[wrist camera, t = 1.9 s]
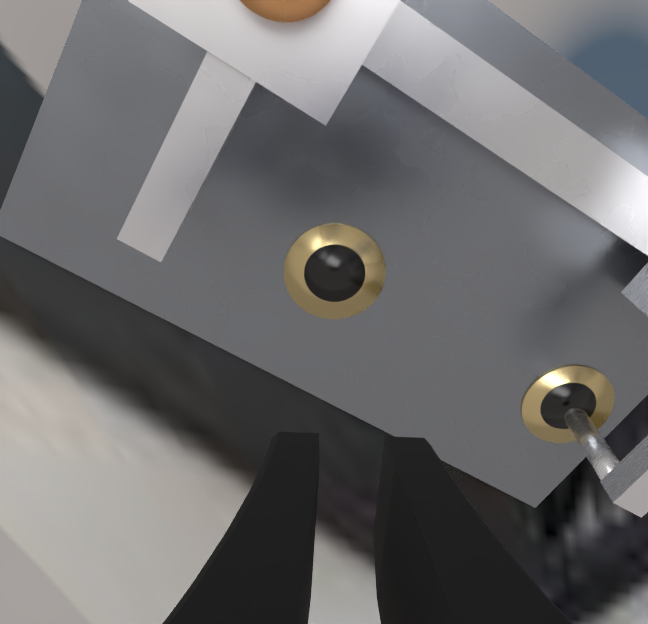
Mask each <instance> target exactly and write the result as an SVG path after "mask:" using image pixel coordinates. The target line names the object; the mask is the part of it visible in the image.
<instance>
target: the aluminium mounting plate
mask: <svg viewBox="0 0 648 624" xmlns="http://www.w3.org/2000/svg"><path fill="white" fill-rule="evenodd" d="M206 53H207V51H206V50H205V49H203V48H202V47H200V46H199V45H197V44H195V43H194V42H192V41H191V40H189V39H187V38H186V37H184V36H183V35H181V34H180V33H178V32H176V31H175V30H173V29H172V28H170V27H168V26H167V25H165V24H164V23H162V22H161V21H159V20H157V19H156V18H154V17H153V16H151V15H149V14H148V13H146V12H145V11H143V10H142V9H140V8H138V7H137V6H135V5H134V4H132V3H130V2H129V1H128V0H82V2H81V5H80V8H79V10H78V13H77V15H76V18H75V20H74V23H73V26H72V29H71V31H70V33H69V36H68V38H67V41H66V43H65V46H64V49H63V51H62V54H61V57H60V59H59V61H58V64H57V67H56V69H55V72H54V74H53V77H52V80H51V82H50V85H49V87H48V90H47V92H46V95H45V97H44V100H43V103H42V105H41V108H40V110H39V113H38V115H37V118H36V121H35V123H34V126H33V128H32V131H31V133H30V136H29V139H28V141H27V144H26V146H25V149H24V151H23V154H22V157H21V159H20V162H19V164H18V167H17V169H16V172H15V174H14V177H13V180H12V182H11V185H10V187H9V190H8V192H7V195H6V198H5V200H4V203H3V205H2V208H1V210H0V236H2V237H3V238H5V239H7V240H9V241H11V242H13V243H15V244H17V245H19V246H21V247H23V248H25V249H27V250H29V251H31V252H33V253H35V254H37V255H39V256H41V257H43V258H45V259H47V260H49V261H51V262H53V263H55V264H57V265H59V266H61V267H62V268H64V269H66V270H68V271H70V272H72V273H74V274H76V275H78V276H80V277H82V278H84V279H86V280H88V281H90V282H92V283H94V284H96V285H98V286H100V287H102V288H104V289H106V290H108V291H110V292H112V293H114V294H116V295H118V296H120V297H121V298H123V299H125V300H127V301H129V302H131V303H133V304H135V305H137V306H139V307H141V308H143V309H145V310H147V311H149V312H151V313H153V314H155V315H157V316H159V317H161V318H163V319H165V320H167V321H169V322H171V323H173V324H175V325H177V326H179V327H180V328H182V329H184V330H186V331H188V332H190V333H192V334H194V335H196V336H198V337H200V338H202V339H204V340H206V341H208V342H210V343H212V344H214V345H216V346H218V347H220V348H222V349H224V350H226V351H228V352H230V353H232V354H234V355H236V356H238V357H239V358H241V359H243V360H245V361H247V362H249V363H251V364H253V365H255V366H257V367H259V368H261V369H263V370H265V371H267V372H269V373H271V374H273V375H275V376H277V377H279V378H281V379H283V380H285V381H287V382H289V383H291V384H293V385H295V386H297V387H298V388H300V389H302V390H304V391H306V392H308V393H310V394H312V395H314V396H316V397H318V398H320V399H322V400H324V401H326V402H328V403H330V404H332V405H334V406H336V407H338V408H340V409H342V410H344V411H346V412H348V413H350V414H352V415H354V416H356V417H357V418H359V419H361V420H363V421H365V422H367V423H369V424H371V425H373V426H375V427H377V428H379V429H381V430H383V431H385V432H387V433H389V434H391V435H393V436H395V437H416V438H425V439H426V440H427V441H428V442H429V444H430V445H431V446H432V448H433V449H434V451H435V452H436V454H437V455H438V457H439V458H440V460H442V461H444V462H446V463H448V464H450V465H452V466H454V467H456V468H458V469H460V470H462V471H464V472H466V473H468V474H470V475H472V476H474V477H476V478H477V479H479V480H481V481H483V482H485V483H487V484H489V485H491V486H493V487H495V488H497V489H499V490H501V491H503V492H505V493H507V494H509V495H511V496H513V497H515V498H517V499H519V500H521V501H523V502H525V503H527V504H529V505H531V506H533V507H535V508H536V507H537V506H538V505H539V504H540V503H541V502H542V501H543V500H544V499H545V498H546V497H547V496H548V495H549V494H550V493H551V492H552V491H553V490H554V489H555V488H556V486H557V485H558V484H559V483H560V482H561V481H562V480H563V479H564V478H565V477H566V476H567V475H568V474H569V473H570V472H571V471H572V470H573V469H574V468H575V467H576V466H577V465H578V464H579V463H580V462H581V461H582V460H583V459H584V458H585V457H587V458H588V460H589V462H590V463H591V465H592V466H593V468H594V470H595V471H596V473H597V475H598V476H599V478H600V479H601V481H600V482H601V484H602V485H603V487H604V489H605V490H606V492H607V494H608V495H609V497H610V499H611V500H612V502H613V503H615V504H617V505H618V506H620V507H622V508H624V509H626V510H628V511H630V512H632V513H633V514H635V515H637V516H639V517H641V518H642V517H643V516H644V515H645V514H646V513H647V512H648V435H647V436H646V437H645V438H644V439H643V440H642V441H641V442H640V443H639V444H638V445H637V446H636V447H635V448H634V449H633V450H632V451H631V452H630V453H629V454H628V455H627V456H626V457H625V458H624V459H623V460H622V461H621V462H620V461H619V460H618V458H617V457H616V456H615V454H614V453H613V451H612V450H611V448H610V447H609V445H608V444H607V442H606V441H605V440H604V438H605V437H606V436H607V435H608V434H609V433H610V432H611V431H612V430H613V429H614V428H615V427H616V426H617V425H618V424H619V423H620V422H621V421H622V420H623V419H624V418H625V417H626V416H627V415H628V414H629V413H630V412H631V411H632V410H633V409H634V408H635V407H636V406H637V405H638V404H639V403H640V402H641V401H642V400H643V399H644V398H645V397H646V396H647V395H648V119H647V118H646V117H644V116H643V115H642V114H640V113H639V112H637V111H636V110H635V109H633V108H632V107H631V106H629V105H628V104H627V103H625V102H624V101H623V100H621V99H620V98H618V97H617V96H616V95H614V94H613V93H612V92H610V91H609V90H608V89H606V88H605V87H604V86H602V85H601V84H600V83H598V82H597V81H596V80H594V79H593V78H591V77H590V76H589V75H587V74H586V73H585V72H583V71H582V70H581V69H579V68H578V67H577V66H575V65H574V64H572V63H571V62H570V61H569V60H567V59H566V58H565V57H563V56H562V55H560V54H559V53H558V52H556V51H555V50H554V49H552V48H551V47H550V46H548V45H547V44H546V43H544V42H543V41H541V40H540V39H539V38H537V37H536V36H535V35H533V34H532V33H531V32H529V31H528V30H526V29H525V28H524V27H523V26H521V25H520V24H519V23H517V22H516V21H514V20H513V19H512V18H510V17H509V16H508V15H506V14H505V13H504V12H502V11H501V10H500V9H498V8H497V7H495V6H494V5H493V4H492V3H490V2H489V1H488V0H400V1H399V2H398V4H397V6H396V8H395V9H394V11H393V13H392V14H391V16H390V18H389V19H388V21H387V23H386V24H385V26H384V28H383V30H382V31H381V33H380V35H379V36H378V38H377V40H376V41H375V43H374V45H373V47H372V48H371V50H370V52H369V53H368V55H367V57H366V58H365V60H364V62H363V64H362V65H361V67H360V69H359V70H358V72H357V74H356V75H355V77H354V79H353V80H352V82H351V84H350V86H349V87H348V89H347V91H346V92H345V94H344V96H343V97H342V99H341V101H340V103H339V104H338V106H337V108H336V109H335V111H334V113H333V114H332V116H331V118H330V119H329V121H328V123H327V125H326V126H325V125H324V124H322V123H321V122H319V121H317V120H316V119H314V118H313V117H311V116H309V115H308V114H306V113H305V112H303V111H302V110H300V109H298V108H297V107H295V106H294V105H292V104H290V103H289V102H287V101H286V100H284V99H283V98H281V97H279V96H278V95H276V94H275V93H273V92H271V91H270V90H268V89H267V88H265V87H264V86H262V85H260V84H259V83H257V85H256V87H255V89H254V90H253V92H252V94H251V96H250V98H249V100H248V102H247V104H246V106H245V108H244V109H243V111H242V113H241V115H240V117H239V119H238V121H237V123H236V125H235V126H234V128H233V130H232V132H231V134H230V136H229V138H228V140H227V142H226V144H225V145H224V147H223V149H222V151H221V153H220V155H219V157H218V159H217V161H216V163H215V164H214V166H213V168H212V170H211V172H210V174H209V176H208V178H207V180H206V182H205V183H204V185H203V187H202V189H201V191H200V193H199V195H198V197H197V199H196V200H195V202H194V204H193V206H192V208H191V210H190V212H189V214H188V216H187V218H186V219H185V221H184V223H183V225H182V227H181V229H180V231H179V233H178V235H177V237H176V238H175V240H174V242H173V244H172V246H171V248H170V250H169V251H168V253H167V254H166V256H165V257H164V259H163V260H162V262H159V261H157V260H155V259H154V258H152V257H150V256H148V255H146V254H144V253H142V252H140V251H138V250H137V249H135V248H133V247H131V246H129V245H127V244H125V243H123V242H122V241H120V240H118V239H117V237H118V235H119V233H120V231H121V229H122V227H123V225H124V223H125V221H126V219H127V217H128V215H129V213H130V210H131V208H132V206H133V204H134V202H135V200H136V198H137V196H138V194H139V192H140V190H141V188H142V186H143V184H144V182H145V179H146V177H147V175H148V173H149V171H150V169H151V167H152V165H153V163H154V161H155V159H156V157H157V155H158V153H159V151H160V148H161V146H162V144H163V142H164V140H165V138H166V136H167V134H168V132H169V130H170V128H171V126H172V124H173V122H174V119H175V117H176V115H177V113H178V111H179V109H180V107H181V105H182V103H183V101H184V99H185V97H186V95H187V93H188V91H189V88H190V86H191V84H192V82H193V80H194V78H195V76H196V74H197V72H198V70H199V68H200V66H201V64H202V62H203V60H204V57H205V55H206Z"/></svg>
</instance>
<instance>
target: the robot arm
mask: <svg viewBox="0 0 648 624" xmlns="http://www.w3.org/2000/svg"><path fill="white" fill-rule="evenodd" d="M318 478H319V433H294V432H279V433H277V434H276V435H275V436H273V437H272V439H271V443H270V446H269V449H268V452H267V455H266V457H265V460H264V462H263V464H262V467H261V469H260V471H259V473H258V475H257V477H256V479H255V481H254V483H253V485H252V487H251V489H250V491H249V493H248V495H247V497H246V498H245V500H244V502H243V504H242V505H241V507H240V509H239V511H238V513H237V514H236V516H235V518H234V520H233V521H232V523H231V525H230V527H229V528H228V530H227V532H226V533H225V535H224V536H223V538H222V540H221V541H220V543H219V544H218V546H217V547H216V549H215V550H214V552H213V553H212V555H211V556H210V558H209V559H208V561H207V562H206V564H205V565H204V567H203V568H202V570H201V571H200V573H199V574H198V576H197V578H196V579H195V580H194V582H193V583H192V585H191V586H190V588H189V589H188V590H187V592H186V593H185V594H184V596H183V597H182V599H181V600H180V601H179V603H178V604H177V605H176V607H175V608H174V609H173V611H172V612H171V613H170V615H169V616H168V617H167V619H166V620H165V621H164V623H163V624H308V617H309V608H310V599H311V586H312V571H313V555H314V540H315V524H316V509H317V493H318ZM373 536H374V555H375V573H376V589H377V601H378V607H379V613H380V620H381V624H572V623H571V622H570V621H569V620H568V619H567V618H566V617H565V615H564V614H563V613H562V612H561V611H560V610H559V609H558V608H557V607H556V606H555V605H554V603H553V602H552V601H551V600H550V599H549V598H548V597H547V596H546V595H545V593H544V592H543V591H542V590H541V589H540V588H539V586H538V585H537V584H536V583H535V582H534V581H533V580H532V578H531V577H530V576H529V575H528V574H527V573H526V572H525V570H524V569H523V568H522V567H521V566H520V564H519V563H518V562H517V561H516V560H515V558H514V557H513V556H512V555H511V554H510V552H509V551H508V550H507V549H506V547H505V546H504V545H503V544H502V542H501V541H500V540H499V539H498V537H497V536H496V535H495V533H494V532H493V531H492V530H491V528H490V527H489V526H488V525H487V523H486V522H485V521H484V519H483V518H482V517H481V516H480V514H479V513H478V512H477V510H476V509H475V508H474V506H473V505H472V504H471V502H470V501H469V500H468V498H467V497H466V495H465V494H464V493H463V491H462V490H461V488H460V487H459V486H458V484H457V483H456V481H455V480H454V479H453V477H452V476H451V474H450V473H449V471H448V470H447V468H446V467H445V466H444V464H443V463H442V461H441V460H440V458H439V457H438V455H437V454H436V452H435V451H434V449H433V448H432V446H431V445H430V444H429V442H428V441H427V440H426V439H425V438H416V437H392V436H385V443H384V451H383V460H382V468H381V476H380V484H379V493H378V501H377V509H376V517H375V526H374V534H373Z"/></svg>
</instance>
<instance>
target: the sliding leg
mask: <svg viewBox="0 0 648 624" xmlns="http://www.w3.org/2000/svg"><path fill="white" fill-rule="evenodd" d="M128 1H129V2H130V3H132V4H134V5H135V6H137V7H138V8H140V9H142V10H143V11H145V12H146V13H148V14H149V15H151V16H153V17H154V18H156V19H157V20H159V21H161V22H162V23H164V24H165V25H167V26H168V27H170V28H172V29H173V30H175V31H176V32H178V33H180V34H181V35H183V36H184V37H186V38H187V39H189V40H191V41H192V42H194V43H195V44H197V45H199V46H200V47H202V48H203V49H205V50H206V51H207V53H206V55H205V57H204V60H203V62H202V64H201V66H200V68H199V70H198V72H197V74H196V76H195V78H194V80H193V82H192V84H191V86H190V88H189V91H188V93H187V95H186V97H185V99H184V101H183V103H182V105H181V107H180V109H179V111H178V113H177V115H176V117H175V119H174V122H173V124H172V126H171V128H170V130H169V132H168V134H167V136H166V138H165V140H164V142H163V144H162V146H161V148H160V151H159V153H158V155H157V157H156V159H155V161H154V163H153V165H152V167H151V169H150V171H149V173H148V175H147V177H146V179H145V182H144V184H143V186H142V188H141V190H140V192H139V194H138V196H137V198H136V200H135V202H134V204H133V206H132V208H131V210H130V213H129V215H128V217H127V219H126V221H125V223H124V225H123V227H122V229H121V231H120V233H119V235H118V237H117V239H118V240H120V241H122V242H123V243H125V244H127V245H129V246H131V247H133V248H135V249H137V250H138V251H140V252H142V253H144V254H146V255H148V256H150V257H152V258H154V259H155V260H157V261H159V262H162V260H163V259H164V257H165V256H166V254H167V253H168V251H169V250H170V248H171V246H172V244H173V242H174V240H175V238H176V237H177V235H178V233H179V231H180V229H181V227H182V225H183V223H184V221H185V219H186V218H187V216H188V214H189V212H190V210H191V208H192V206H193V204H194V202H195V200H196V199H197V197H198V195H199V193H200V191H201V189H202V187H203V185H204V183H205V182H206V180H207V178H208V176H209V174H210V172H211V170H212V168H213V166H214V164H215V163H216V161H217V159H218V157H219V155H220V153H221V151H222V149H223V147H224V145H225V144H226V142H227V140H228V138H229V136H230V134H231V132H232V130H233V128H234V126H235V125H236V123H237V121H238V119H239V117H240V115H241V113H242V111H243V109H244V108H245V106H246V104H247V102H248V100H249V98H250V96H251V94H252V92H253V90H254V89H255V87H256V85H257V83H259V84H260V85H262V86H264V87H265V88H267V89H268V90H270V91H271V92H273V93H275V94H276V95H278V96H279V97H281V98H283V99H284V100H286V101H287V102H289V103H290V104H292V105H294V106H295V107H297V108H298V109H300V110H302V111H303V112H305V113H306V114H308V115H309V116H311V117H313V118H314V119H316V120H317V121H319V122H321V123H322V124H324V125H325V126H326V125H327V123H328V121H329V119H330V118H331V116H332V114H333V113H334V111H335V109H336V108H337V106H338V104H339V103H340V101H341V99H342V97H343V96H344V94H345V92H346V91H347V89H348V87H349V86H350V84H351V82H352V80H353V79H354V77H355V75H356V74H357V72H358V70H359V69H360V67H361V65H362V64H363V62H364V60H365V58H366V57H367V55H368V53H369V52H370V50H371V48H372V47H373V45H374V43H375V41H376V40H377V38H378V36H379V35H380V33H381V31H382V30H383V28H384V26H385V24H386V23H387V21H388V19H389V18H390V16H391V14H392V13H393V11H394V9H395V8H396V6H397V4H398V2H399V1H400V0H128Z"/></svg>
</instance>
